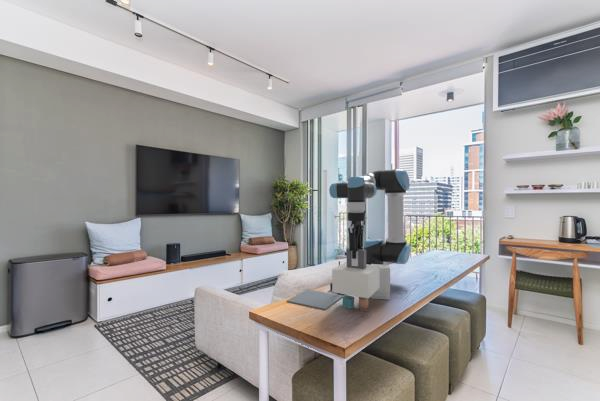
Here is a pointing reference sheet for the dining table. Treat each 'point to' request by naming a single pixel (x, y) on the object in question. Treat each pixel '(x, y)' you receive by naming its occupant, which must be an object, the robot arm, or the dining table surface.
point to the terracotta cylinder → (363, 304)
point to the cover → (356, 277)
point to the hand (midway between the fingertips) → (356, 264)
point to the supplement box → (383, 283)
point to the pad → (315, 299)
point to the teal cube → (348, 301)
